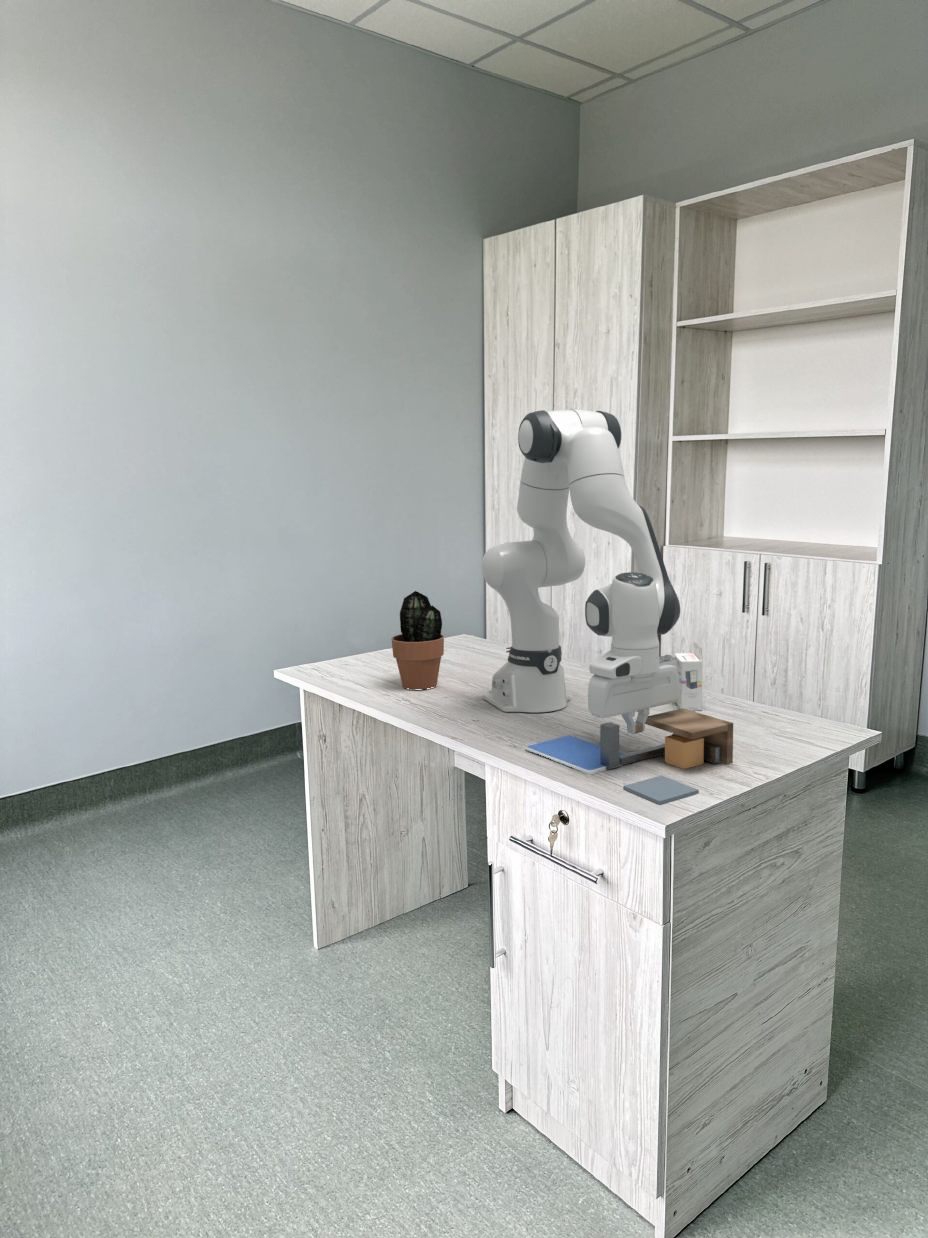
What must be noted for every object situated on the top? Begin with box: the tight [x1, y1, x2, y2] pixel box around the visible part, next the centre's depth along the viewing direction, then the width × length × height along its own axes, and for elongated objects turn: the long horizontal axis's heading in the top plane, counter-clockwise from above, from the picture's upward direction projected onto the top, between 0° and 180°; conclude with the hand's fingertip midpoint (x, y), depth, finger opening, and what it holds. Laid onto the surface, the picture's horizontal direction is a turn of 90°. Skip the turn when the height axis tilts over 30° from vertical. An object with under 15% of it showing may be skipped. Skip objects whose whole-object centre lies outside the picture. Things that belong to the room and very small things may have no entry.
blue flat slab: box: [524, 734, 629, 775], centre depth 176 cm, size 19×13×1 cm, turn 35°
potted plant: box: [391, 590, 445, 689], centre depth 233 cm, size 14×14×25 cm
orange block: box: [664, 734, 704, 770], centre depth 169 cm, size 5×5×5 cm
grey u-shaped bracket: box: [599, 721, 722, 770], centre depth 168 cm, size 12×19×8 cm, turn 121°
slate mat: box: [622, 775, 700, 806], centre depth 155 cm, size 9×9×1 cm
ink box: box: [674, 640, 703, 712], centre depth 207 cm, size 9×5×15 cm, turn 178°
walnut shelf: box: [645, 708, 734, 765], centre depth 171 cm, size 13×10×8 cm
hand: (635, 732), depth 170 cm, fingers closed
